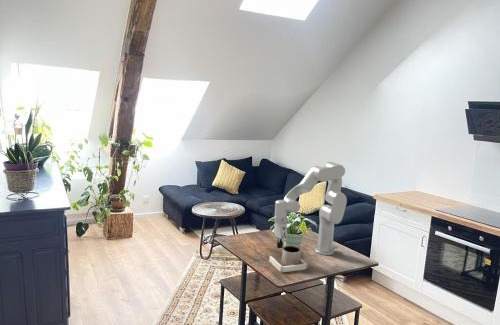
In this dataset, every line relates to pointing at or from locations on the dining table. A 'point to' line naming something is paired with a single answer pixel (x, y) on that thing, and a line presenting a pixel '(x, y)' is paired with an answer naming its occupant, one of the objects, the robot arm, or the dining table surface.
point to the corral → (301, 266)
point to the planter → (290, 255)
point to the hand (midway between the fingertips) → (279, 247)
